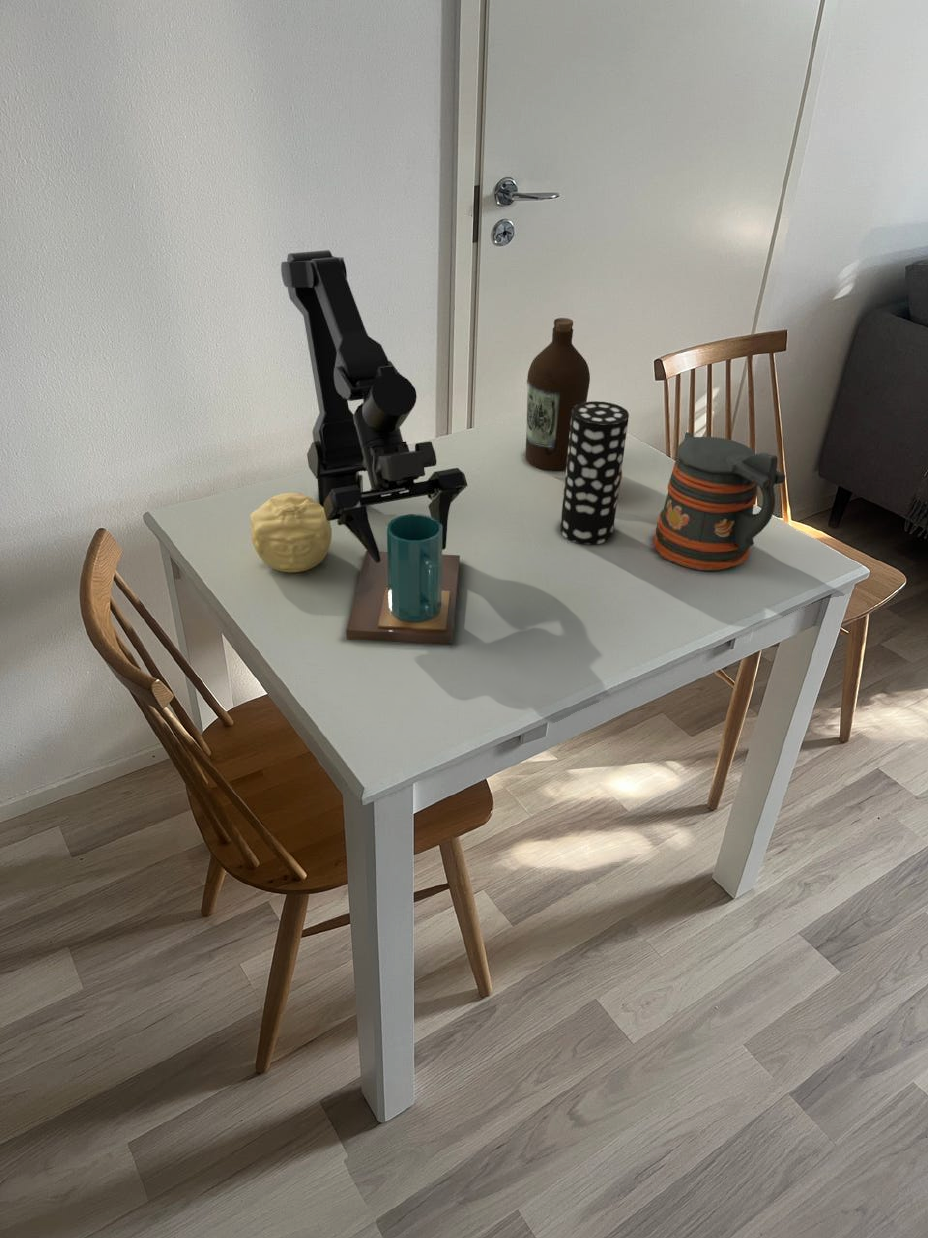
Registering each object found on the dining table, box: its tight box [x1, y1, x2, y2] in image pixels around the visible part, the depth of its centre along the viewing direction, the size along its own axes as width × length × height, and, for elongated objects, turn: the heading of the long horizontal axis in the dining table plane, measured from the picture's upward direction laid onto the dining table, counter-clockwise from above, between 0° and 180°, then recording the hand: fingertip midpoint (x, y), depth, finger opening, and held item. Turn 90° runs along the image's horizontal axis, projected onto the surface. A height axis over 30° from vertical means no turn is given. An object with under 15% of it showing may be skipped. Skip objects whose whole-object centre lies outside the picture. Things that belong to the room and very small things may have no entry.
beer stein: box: [653, 431, 786, 572], centre depth 142 cm, size 19×15×20 cm
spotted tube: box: [559, 400, 630, 545], centre depth 147 cm, size 8×8×20 cm
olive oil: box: [524, 317, 591, 471], centre depth 166 cm, size 11×11×25 cm
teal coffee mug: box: [386, 513, 443, 622], centre depth 126 cm, size 10×7×12 cm
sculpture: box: [249, 492, 333, 573], centre depth 140 cm, size 12×12×11 cm
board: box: [345, 550, 461, 645], centre depth 135 cm, size 14×20×2 cm
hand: (411, 555), depth 128 cm, fingers open, 9 cm apart
